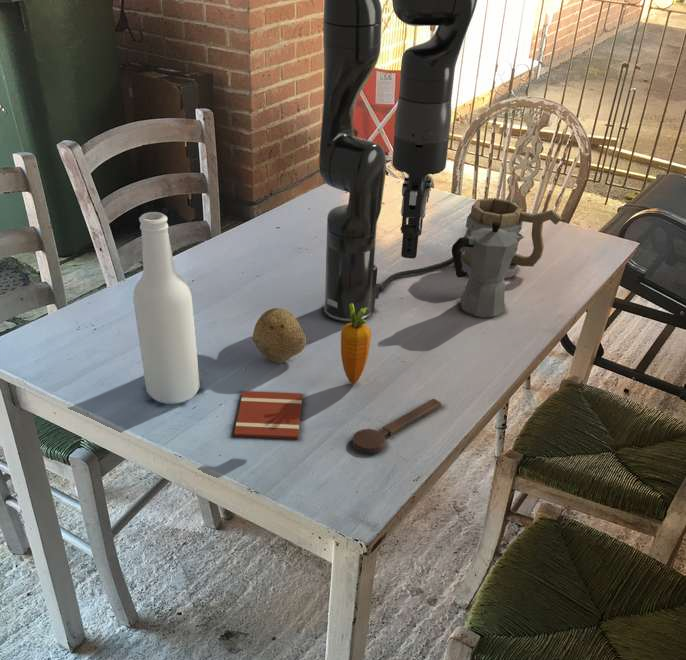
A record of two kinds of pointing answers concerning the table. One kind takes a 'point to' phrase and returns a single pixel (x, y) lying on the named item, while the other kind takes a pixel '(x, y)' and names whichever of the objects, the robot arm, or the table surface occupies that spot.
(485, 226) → the tankard
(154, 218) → the alcohol
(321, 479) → the table surface
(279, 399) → the tea towel
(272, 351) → the brown round lump
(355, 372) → the carrot
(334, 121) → the robot arm
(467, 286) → the coffeepot
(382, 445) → the wooden spoon
